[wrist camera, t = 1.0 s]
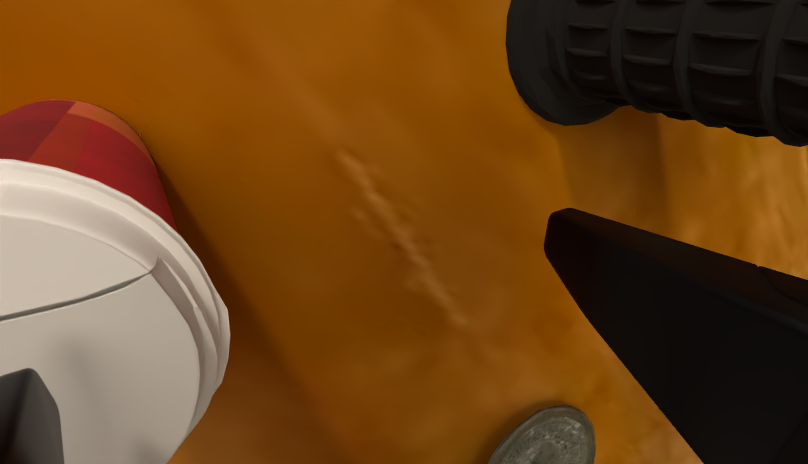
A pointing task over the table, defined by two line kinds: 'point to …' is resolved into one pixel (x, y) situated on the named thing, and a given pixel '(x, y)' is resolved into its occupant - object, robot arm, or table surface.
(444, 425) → the table surface
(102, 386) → the paper cup
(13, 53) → the table surface
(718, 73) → the handle grip
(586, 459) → the lid
